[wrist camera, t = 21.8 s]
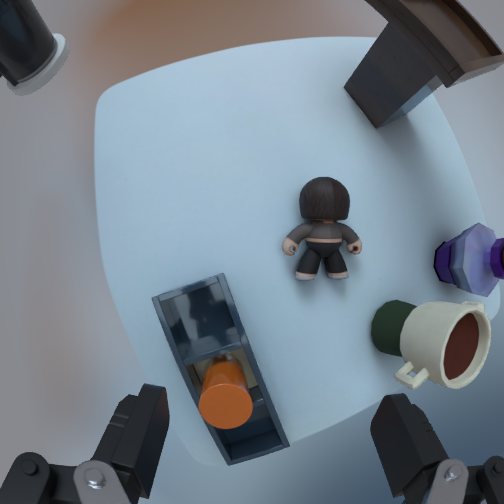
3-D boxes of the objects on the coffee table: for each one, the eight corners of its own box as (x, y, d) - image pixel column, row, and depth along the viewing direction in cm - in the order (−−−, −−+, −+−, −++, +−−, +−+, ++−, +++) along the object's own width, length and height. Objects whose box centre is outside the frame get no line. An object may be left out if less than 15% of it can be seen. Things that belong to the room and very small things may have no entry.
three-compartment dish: (226, 444, 27) (228, 466, 23) (161, 294, 28) (151, 297, 24) (282, 426, 28) (290, 446, 24) (223, 272, 29) (223, 273, 24)
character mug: (368, 377, 30) (436, 422, 17) (340, 332, 29) (410, 366, 17) (430, 319, 31) (507, 334, 18) (408, 274, 31) (489, 273, 18)
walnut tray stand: (366, 152, 31) (465, 73, 13) (314, 83, 31) (370, -23, 13) (427, 119, 33) (508, 59, 15) (382, 61, 33) (442, -14, 15)
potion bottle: (473, 254, 32) (536, 248, 20) (452, 307, 31) (519, 315, 19) (439, 216, 32) (506, 198, 20) (415, 272, 31) (488, 271, 19)
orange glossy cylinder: (205, 390, 27) (200, 429, 19) (203, 354, 27) (196, 384, 19) (245, 389, 27) (253, 428, 19) (244, 353, 27) (252, 382, 19)
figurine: (349, 271, 31) (351, 181, 30) (370, 281, 27) (373, 177, 25) (276, 274, 31) (277, 178, 29) (287, 286, 26) (288, 171, 24)
